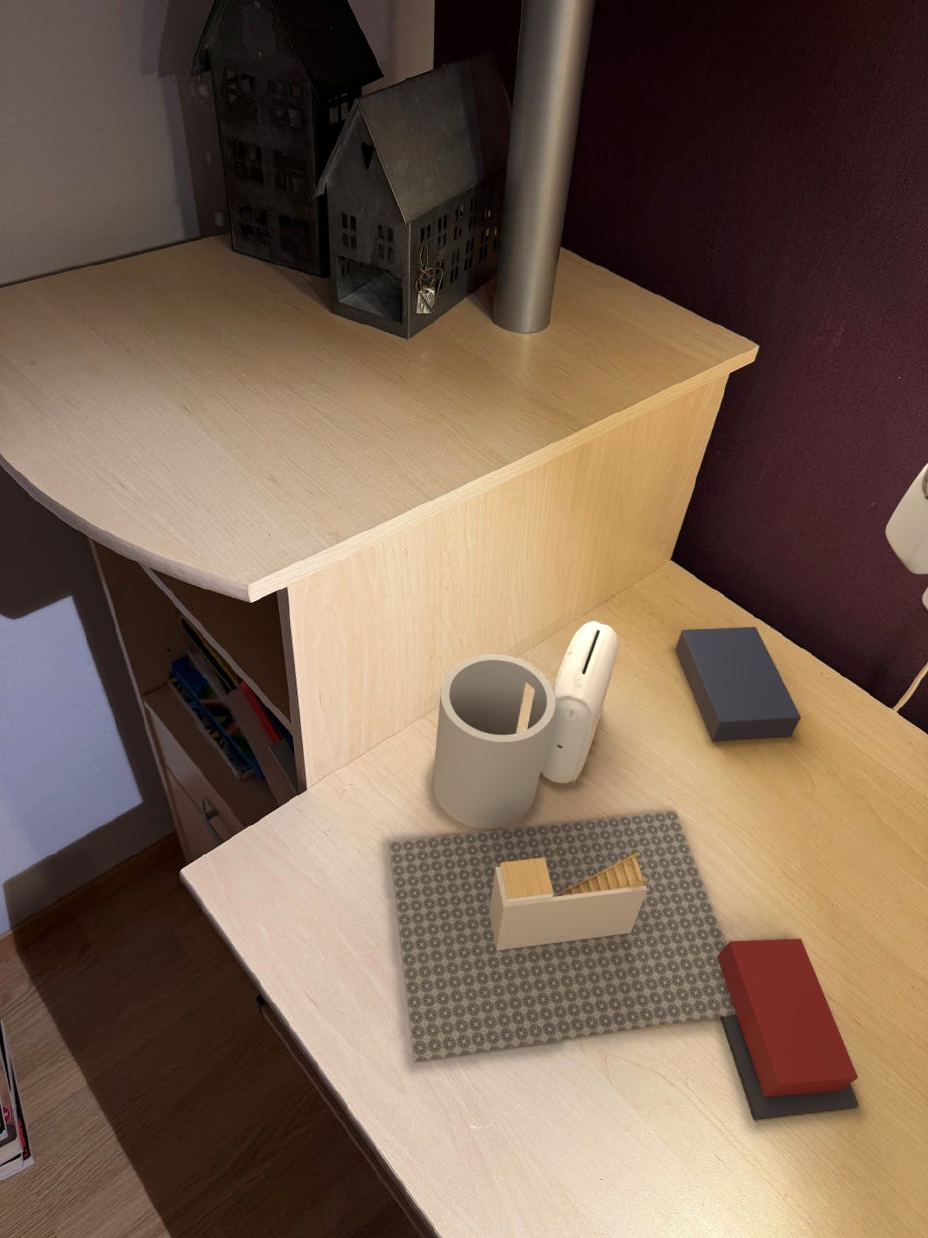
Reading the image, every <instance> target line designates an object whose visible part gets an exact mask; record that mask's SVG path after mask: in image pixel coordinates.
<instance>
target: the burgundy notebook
mask: <svg viewBox="0 0 928 1238" xmlns="http://www.w3.org/2000/svg"><path fill="white" fill-rule="evenodd" d="M717 958H718V961H719V964H720V967H721V970H722V973H723V976H724V979H725V982H726V985H727V988H728V991H729V994H730V996H731V999H732V1002H733V1005H734V1008H735V1011H736V1014H737V1017H738V1020H739V1023H740V1026H741V1029H742V1032H743V1035H744V1038H745V1041H746V1044H747V1047H748V1050H749V1053H750V1056H751V1059H752V1062H753V1065H754V1067H755V1070H756V1073H757V1076H758V1079H759V1082H760V1085H761V1088H762V1091H763V1094H764V1097H770V1096H782V1095H794V1094H807V1093H819V1092H831V1091H841V1090H842V1089H844V1088H845V1087H846V1086H848V1085H849V1084H852V1083H854V1082H855V1081H856V1080H857V1079H858V1078H859V1076H858V1074H857V1072H856V1069H855V1066H854V1064H853V1061H852V1058H851V1057H850V1054H849V1052H848V1050H847V1047H846V1044H845V1042H844V1040H843V1037H842V1035H841V1032H840V1029H839V1027H838V1025H837V1022H836V1019H835V1018H834V1015H833V1013H832V1010H831V1008H830V1006H829V1003H828V1001H827V997H826V996H825V993H824V991H823V989H822V986H821V984H820V982H819V978H818V976H817V974H816V972H815V970H814V967H813V964H812V961H811V959H810V956H809V954H808V952H807V949H806V948H805V945H804V941H803V940H802V938H786V939H785V938H783V939H781V938H779V939H755V940H730V941H728V942H727V943H726V946H725V947H724V949H723V950H722V951H721V952H720V953H719V955H718V956H717Z"/></svg>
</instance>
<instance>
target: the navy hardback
mask: <svg viewBox="0 0 928 1238" xmlns="http://www.w3.org/2000/svg"><path fill="white" fill-rule="evenodd" d="M674 651H675V653H676V656H677V659H678V661H679V664H680V666H681V668H682V671H683V673H684V676H685V678H686V682H687V683H688V687H689V688H690V691H691V693H692V695H693V698H694V700H695V703H696V705H697V708H698V710H699V713H700V715H701V718H702V721H703V723H704V726H705V728H706V731H707V733H708V735H709V737H710V740H711V742H713V743H714V742H729V741H731V742H732V741H744V740H762V739H763V740H764V739H779V738H792V736H793V734H794V732H795V731H796V728H797V727H798V724H799V722H800V720H801V719H802V717H801V716H802V715H800V712H799V710H798V708H797V706H796V704H795V702H794V700H793V698H792V696H791V694H790V691H789V690H788V688H787V686H786V685H785V682H784V680H783V678H782V676H781V674H780V672H779V670H778V668H777V665H776V664H775V662H774V660H773V658H772V656H771V654H770V652H769V650H768V648H767V646H766V645H765V642H764V640H763V638H762V637H761V634H760V633H759V631H758V628H757V627H756V626H743V627H719V628H695V629H681V632H680V634H679V637H678V640H677V643H676V646H675V649H674Z"/></svg>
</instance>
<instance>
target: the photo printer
mask: <svg viewBox="0 0 928 1238" xmlns="http://www.w3.org/2000/svg"><path fill="white" fill-rule="evenodd" d="M618 652H619V641H618V636H617V634H616V632H615V630H614V629H613V627H611V626H610V625H608V624H602V623H600V622H598V621H595V620H593V621H589V622H586V623H584V624H583V625H582V626H581V627H579V629H578V630H577V631H576V632H575V634H574V635H573V637H572V639H571V640H570V643H569V644H568V647H567V650H566V652H565V654H564V656H563V659H562V661H561V664H560V667H559V669H558V673H557V676H556V679H555V683H554V686H553V688H552V689H553V690H554V695H555V711H554V715H553V719H552V724H551V728H550V733H549V737H548V741H547V746H546V750H545V755H544V759H543V764H542V768H541V772H540V773H541V774H542V775H543V777H545V778H546V779H548V780H549V781H551V782H554V783H557V784H569V783H570V782H573V783H575V782H576V780H577V779H578V778H579V776H580V774H581V772H582V770H583V768H584V765H585V763H586V760H587V757H588V756H589V755H588V754H589V752H590V749H591V746H592V744H593V740H594V738H595V734H596V731H597V727H598V726H599V722H600V718H601V715H602V711H603V707H604V704H605V700H606V697H607V693H608V689H609V685H610V681H611V678H612V674H613V671H614V667H615V664H616V660H617V656H618Z"/></svg>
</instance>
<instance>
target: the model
mask: <svg viewBox="0 0 928 1238" xmlns="http://www.w3.org/2000/svg"><path fill="white" fill-rule="evenodd" d="M640 855H641V853H640V852H636V853H634V854H632V855H630V856H628V857H626V858H624V859H622V860H620V861H618V862H616V863H614V864H613V865H611V866H609V867H607V868H605V869H603V870H601V871H599V872H597V873H595V874H593V875H592V876H590V877H588V878H586V879H584V880H582V881H580V882H578V883H576V884H574V885H572V886H570V887H569V888H567V889H565V890H563V891H561V892H559V893H557V894H555V895H554V889H553V885H552V881H551V877H550V873H549V869H548V865H547V861H546V857H545V856H544V857H536V858H527V859H519V860H510V861H502V862H501V863H500V864H499V866H495V867H494V874H493V881H492V888H491V895H490V902H489V909H488V913H489V918H490V923H491V928H492V934H493V939H494V944H495V949H496V950H497V951H500V950H505V949H508V950H509V949H513V948H521V947H529V946H537V945H545V944H553V943H561V942H566V941H567V942H569V941H574V940H582V939H590V938H598V937H606V936H614V935H622V934H630V933H631V932H632V931H633V928H634V926H635V923H636V920H637V918H638V915H639V913H640V910H641V907H642V905H643V902H644V900H645V897H646V894H647V892H648V887H647V885H646V884H645V885H643V883H646V882H648V881H649V878H648V877H645V878H643V874H642V871H641V868H640V865H639V862H638V859H637V857H639V856H640Z"/></svg>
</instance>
